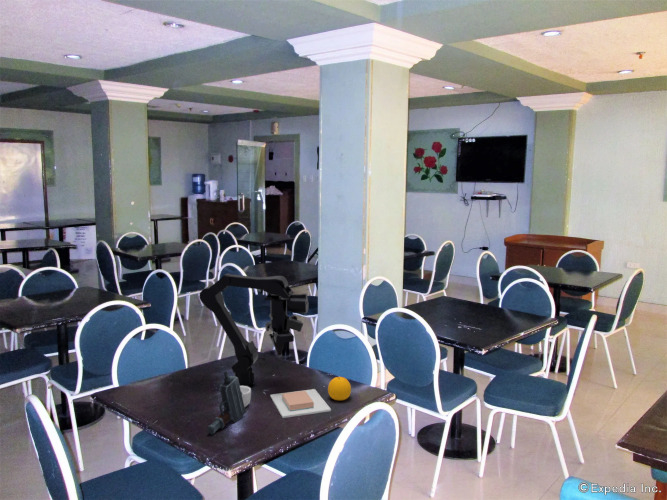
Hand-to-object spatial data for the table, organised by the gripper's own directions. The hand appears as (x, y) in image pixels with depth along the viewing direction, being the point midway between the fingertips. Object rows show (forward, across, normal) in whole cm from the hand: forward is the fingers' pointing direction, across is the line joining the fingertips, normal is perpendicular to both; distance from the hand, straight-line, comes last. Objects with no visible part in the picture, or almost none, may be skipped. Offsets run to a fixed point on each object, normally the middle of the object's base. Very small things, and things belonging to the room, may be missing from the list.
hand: (279, 355), depth 193 cm
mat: (+12, -16, -3) cm, 20 cm away
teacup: (+12, -12, +17) cm, 24 cm away
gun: (+12, -24, +22) cm, 35 cm away
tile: (+10, -12, -2) cm, 16 cm away
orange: (+12, -16, -17) cm, 27 cm away
